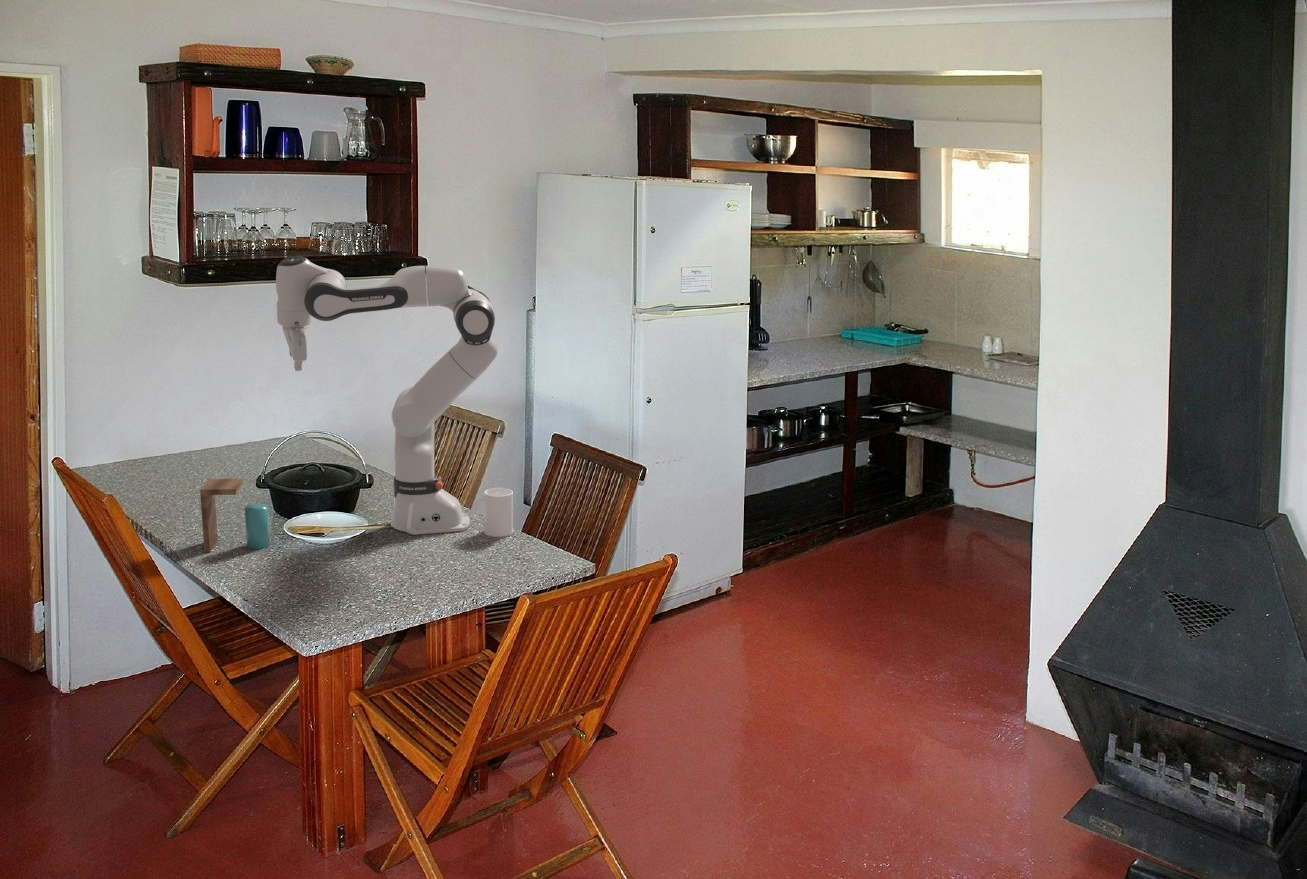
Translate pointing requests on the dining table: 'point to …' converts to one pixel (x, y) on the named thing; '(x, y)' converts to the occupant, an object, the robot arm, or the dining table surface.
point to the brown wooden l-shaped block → (214, 506)
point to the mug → (497, 512)
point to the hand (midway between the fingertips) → (295, 362)
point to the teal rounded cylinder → (257, 526)
